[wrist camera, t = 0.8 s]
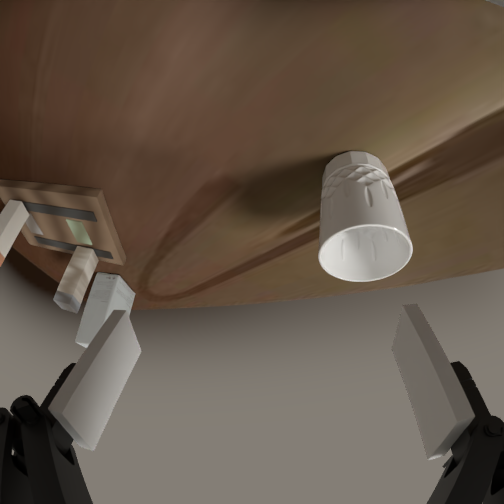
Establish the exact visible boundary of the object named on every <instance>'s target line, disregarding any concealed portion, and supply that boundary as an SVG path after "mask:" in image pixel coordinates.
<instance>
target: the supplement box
mask: <svg viewBox="0 0 504 504" xmlns="http://www.w3.org/2000/svg"><path fill="white" fill-rule="evenodd" d="M486 1H489V2H491V3H494V4H497V5H500V6H502V7H504V0H486Z"/></svg>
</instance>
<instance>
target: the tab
mask: <svg viewBox="0 0 504 504" xmlns="http://www.w3.org/2000/svg"><path fill="white" fill-rule="evenodd" d="M28 217H29V213H28V212H27V210H26V208H25V206H24V204H23V203H22V201H15V200H9V202H8V203H7V204H6V206H5V208H4V209H3V211H2V212H1V214H0V267H1V265H2V263H3V261H4V259H5V257H6V255H7V253H8V251H9V250H10V248H11V246H12V244H13V242H14V240H15V239H16V237H17V235H18V233H19V232H20V230H21V228H22V227H23V225H24V223H25V222H26V220H27V218H28Z"/></svg>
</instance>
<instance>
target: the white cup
mask: <svg viewBox="0 0 504 504" xmlns="http://www.w3.org/2000/svg"><path fill="white" fill-rule="evenodd" d="M412 250H413V248H412V243H411V240H410V236H409V233H408V229H407V226H406V223H405V219H404V216H403V213H402V209H401V206H400V203H399V200H398V198H397V196H396V193H395V189H394V187H393V185H392V183H391V181H390V178H389V176H388V173H387V170H386V168H385V166H384V165H383V164H382V162H381V161H380V160H379V158H377V157H375V156H373V155H371V154H369V153H367V152H362V151H349V152H346V153H343V154H340V155H338V156H335V157H334V158H333V159H332V160H331V161H330V162H329V163H328V164H327V165H326V167H325V170H324V174H323V177H322V194H321V209H320V233H319V252H318V259H319V263H320V265H321V266H322V268H323V269H324V270H325V271H326V272H327V273H329V274H330V275H332V276H334V277H336V278H339V279H342V280H347V281H354V282H367V281H374V280H379V279H382V278H385V277H388V276H390V275H393V274H394V273H396V272H398V271H399V270H401V269H402V268H403V267H404V266H405V265H406V264H407V263H408V261H409V260H410V258H411V255H412Z"/></svg>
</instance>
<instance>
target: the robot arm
mask: <svg viewBox="0 0 504 504" xmlns="http://www.w3.org/2000/svg"><path fill="white" fill-rule="evenodd" d="M392 351H393V354H394V356H395V359H396V362H397V365H398V367H399V370H400V373H401V376H402V378H403V381H404V384H405V387H406V390H407V393H408V396H409V399H410V402H411V405H412V408H413V411H414V414H415V417H416V420H417V424H418V427H419V430H420V433H421V437H422V441H423V444H424V448H425V451H426V455H427V458H428V460H430V459H434V458H437V457H441V456H444V455H445V454H446V453H447V452H448V450H449V449H450V448H451V450H452V454H453V455H452V456H451V457H450V458H449V460H448V461H447V462H446V463H445V464H444V466H443V467H444V468H445V467H446V468H445V470H444V472H443V475H442V476H441V479H440V480H439V482H438V484H437V486H436V488H435V490H434V492H433V493H432V495H431V497H430V499H429V501H428V502H427V504H482V502H483V504H504V422H503V421H502V420H501V419H500V418H498V417H496V416H491V414H490V413H489V411H488V409H487V407H486V405H485V403H484V400H483V398H482V397H481V394H480V392H479V390H478V388H477V387H476V384H475V382H474V380H472V377H471V375H470V373H469V371H468V369H467V368H466V367H465V366H464V365H463V364H462V363H460V362H459V361H458V362H453V363H450V362H449V360H448V358H447V356H446V355H445V353H444V351H443V349H442V347H441V345H440V343H439V341H438V340H437V338H436V336H435V334H434V332H433V331H432V329H431V327H430V325H429V324H428V322H427V320H426V319H425V317H424V315H423V313H422V312H421V310H420V308H419V307H418V305H417V304H410V305H403V306H402V310H401V315H400V319H399V323H398V327H397V331H396V335H395V339H394V343H393V346H392ZM140 353H141V349H140V346H139V343H138V341H137V338H136V336H135V333H134V330H133V327H132V324H131V322H130V319H129V316H128V313H127V310H113V312H112V313H111V314H110V316H109V317H108V318H107V320H106V321H105V323H104V324H103V325H102V327H101V328H100V330H99V331H98V333H97V334H96V335H95V337H94V338H93V340H92V341H91V343H90V344H89V345H88V347H87V348H86V350H85V351H84V353H83V354H82V356H81V357H80V359H79V360H78V362H77V363H72V364H70V365H69V366H68V367H67V368H66V369H64V370H63V372H62V373H61V375H60V376H59V379H57V381H56V383H55V386H53V387H52V389H51V390H50V392H49V393H48V395H47V396H46V398H45V400H44V401H43V403H42V404H41V406H40V407H39V406H38V405H37V403H36V402H35V401H34V399H33V398H32V397H31V396H28V395H24V396H20V397H18V398H17V399H16V400H15V401H14V402H13V403H12V405H11V409H10V411H11V413H12V414H13V415H11V414H10V412H9V411H8V410H7V409H6V408H0V504H93V503H92V500H91V497H90V495H89V492H88V490H87V487H86V484H85V481H84V478H83V475H82V473H81V470H80V467H79V464H78V460H77V457H76V453H75V450H74V448H73V446H72V445H71V444H72V442H73V440H74V441H75V442H76V443H77V444H78V445H79V446H80V447H83V448H86V449H89V450H92V451H94V450H95V447H96V445H97V443H98V441H99V439H100V436H101V434H102V432H103V430H104V428H105V425H106V423H107V421H108V419H109V417H110V415H111V413H112V410H113V408H114V406H115V404H116V402H117V400H118V398H119V396H120V394H121V392H122V389H123V387H124V385H125V383H126V381H127V379H128V377H129V375H130V373H131V371H132V369H133V367H134V365H135V363H136V361H137V359H138V357H139V355H140ZM12 449H13V450H14V455H12Z"/></svg>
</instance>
